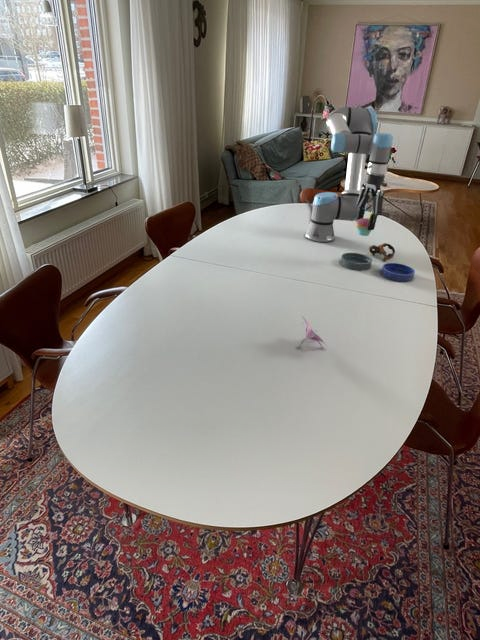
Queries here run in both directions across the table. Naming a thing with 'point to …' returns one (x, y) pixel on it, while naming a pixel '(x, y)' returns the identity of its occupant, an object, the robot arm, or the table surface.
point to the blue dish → (397, 272)
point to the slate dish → (356, 261)
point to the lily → (311, 334)
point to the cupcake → (363, 226)
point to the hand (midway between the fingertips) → (364, 226)
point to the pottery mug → (382, 251)
